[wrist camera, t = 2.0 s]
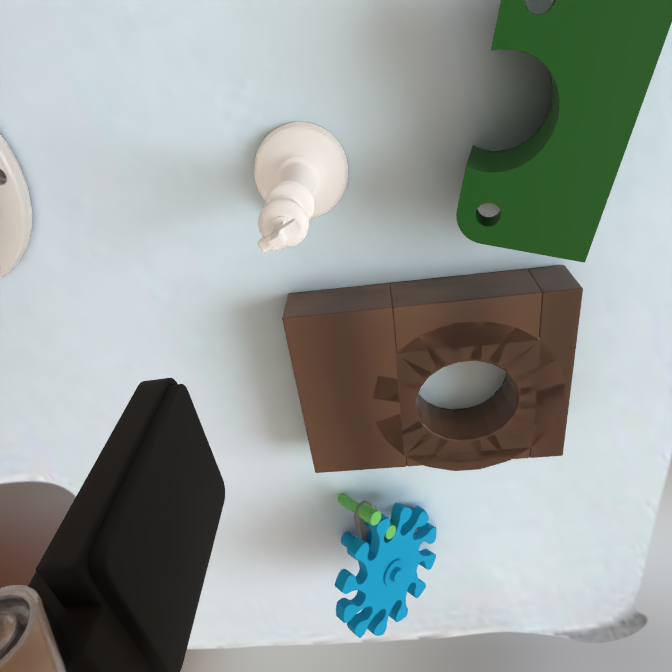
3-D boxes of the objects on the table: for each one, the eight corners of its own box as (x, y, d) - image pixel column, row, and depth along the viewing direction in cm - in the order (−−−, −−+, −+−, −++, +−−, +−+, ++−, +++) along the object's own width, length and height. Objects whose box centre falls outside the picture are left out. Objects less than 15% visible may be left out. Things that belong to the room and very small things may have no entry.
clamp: (503, 12, 28) (524, -109, 19) (626, 24, 26) (710, -99, 18) (452, 243, 29) (449, 231, 21) (564, 263, 28) (612, 260, 20)
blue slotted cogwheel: (449, 581, 43) (362, 672, 38) (396, 547, 48) (311, 624, 42) (433, 472, 39) (332, 557, 33) (376, 445, 43) (278, 516, 38)
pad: (319, 449, 38) (316, 480, 36) (288, 293, 32) (282, 318, 29) (548, 432, 37) (562, 464, 34) (564, 264, 30) (583, 288, 28)
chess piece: (235, 156, 28) (181, 223, 19) (314, 101, 26) (292, 147, 18) (290, 232, 30) (263, 323, 21) (366, 185, 28) (369, 263, 20)
